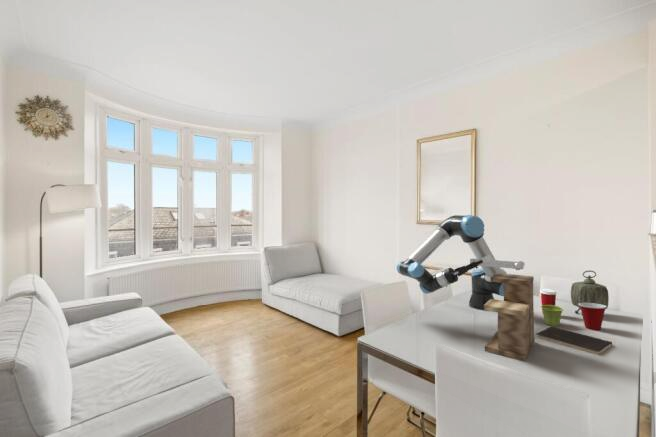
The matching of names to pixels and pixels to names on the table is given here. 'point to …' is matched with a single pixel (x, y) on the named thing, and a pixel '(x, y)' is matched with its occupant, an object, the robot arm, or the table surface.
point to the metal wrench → (502, 264)
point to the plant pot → (552, 314)
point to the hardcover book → (575, 340)
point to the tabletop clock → (589, 292)
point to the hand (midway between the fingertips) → (490, 257)
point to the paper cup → (548, 297)
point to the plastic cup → (592, 315)
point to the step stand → (513, 317)
